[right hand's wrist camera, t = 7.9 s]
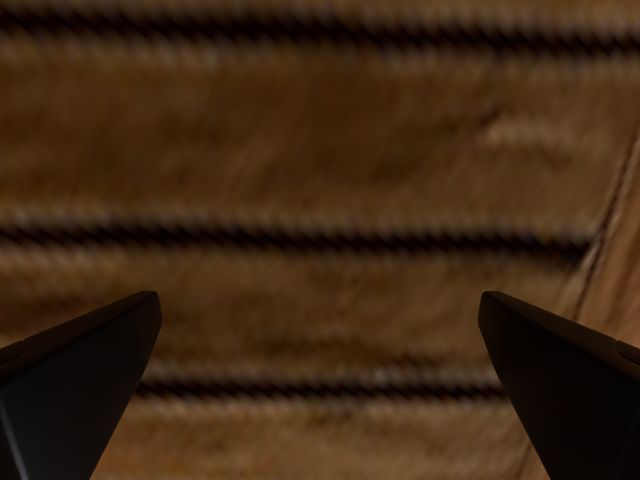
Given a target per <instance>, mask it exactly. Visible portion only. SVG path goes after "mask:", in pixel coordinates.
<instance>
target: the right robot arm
mask: <svg viewBox="0 0 640 480" xmlns="http://www.w3.org/2000/svg"><path fill="white" fill-rule="evenodd" d="M161 325H162V314H161V308H160V301H159V296H158V294H157V292H155V291H141V292H138V293H136V294H133V295H131V296H128V297H126V298H124V299H121V300H119V301H116V302H114V303H111V304H109V305H106V306H104V307H102V308H99V309H97V310H94V311H92V312H89V313H87V314H84V315H82V316H80V317H77V318H75V319H72V320H70V321H67V322H65V323H62V324H60V325H58V326H55V327H53V328H50V329H48V330H45V331H43V332H40V333H38V334H36V335H33V336H31V337H28V338H26V339H24V341H23V340H21V341H18V342H16V343H13V344H11V345H9V346H6V347H3V348H1V349H0V480H89V479H90V477H91V475H92V473H93V471H94V469H95V468H96V466H97V464H98V462H99V460H100V458H101V456H102V454H103V452H104V450H105V448H106V446H107V444H108V442H109V440H110V438H111V436H112V434H113V432H114V430H115V428H116V426H117V424H118V422H119V421H120V419H121V417H122V415H123V413H124V411H125V409H126V407H127V405H128V403H129V401H130V399H131V397H132V395H133V393H134V391H135V389H136V387H137V385H138V383H139V381H140V379H141V377H142V375H143V373H144V371H145V369H146V366H147V364H148V361H149V358H150V356H151V353H152V350H153V347H154V345H155V342H156V339H157V336H158V334H159V331H160V328H161ZM478 325H479V328H480V331H481V334H482V336H483V339H484V342H485V345H486V347H487V350H488V353H489V356H490V358H491V361H492V364H493V366H494V369H495V371H496V373H497V375H498V377H499V379H500V381H501V383H502V385H503V387H504V389H505V391H506V393H507V395H508V397H509V399H510V401H511V403H512V405H513V407H514V409H515V411H516V413H517V415H518V417H519V419H520V421H521V423H522V424H523V426H524V428H525V430H526V432H527V434H528V436H529V438H530V440H531V442H532V444H533V446H534V448H535V450H536V452H537V454H538V456H539V458H540V460H541V462H542V464H543V466H544V468H545V469H546V471H547V473H548V475H549V477H550V479H551V480H640V349H639V348H637V347H634V346H631V345H629V344H627V343H624V342H622V341H619V340H617V341H616V339H614V338H612V337H609V336H607V335H604V334H602V333H600V332H597V331H595V330H592V329H590V328H587V327H585V326H582V325H580V324H578V323H575V322H573V321H570V320H568V319H565V318H563V317H560V316H558V315H556V314H553V313H551V312H548V311H546V310H543V309H541V308H538V307H536V306H534V305H531V304H529V303H526V302H524V301H521V300H519V299H516V298H514V297H512V296H509V295H507V294H504V293H502V292H499V291H485V292H483V294H482V296H481V301H480V308H479V314H478Z"/></svg>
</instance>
